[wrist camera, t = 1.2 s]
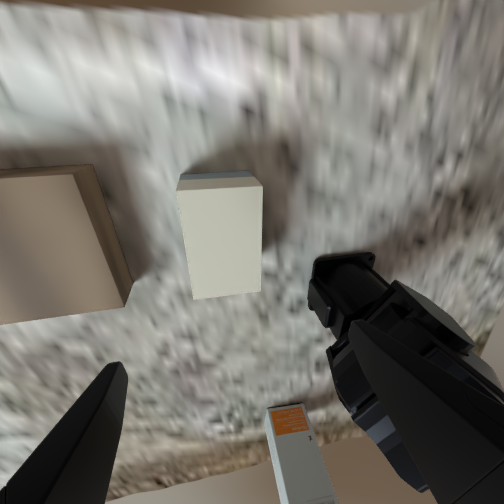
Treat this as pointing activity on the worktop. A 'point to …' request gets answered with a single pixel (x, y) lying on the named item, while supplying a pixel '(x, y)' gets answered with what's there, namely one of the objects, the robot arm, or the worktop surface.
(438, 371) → the robot arm
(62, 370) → the worktop surface
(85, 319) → the worktop surface
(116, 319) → the worktop surface
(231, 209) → the lid plate
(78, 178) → the walnut stand
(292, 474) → the skincare box
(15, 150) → the worktop surface
